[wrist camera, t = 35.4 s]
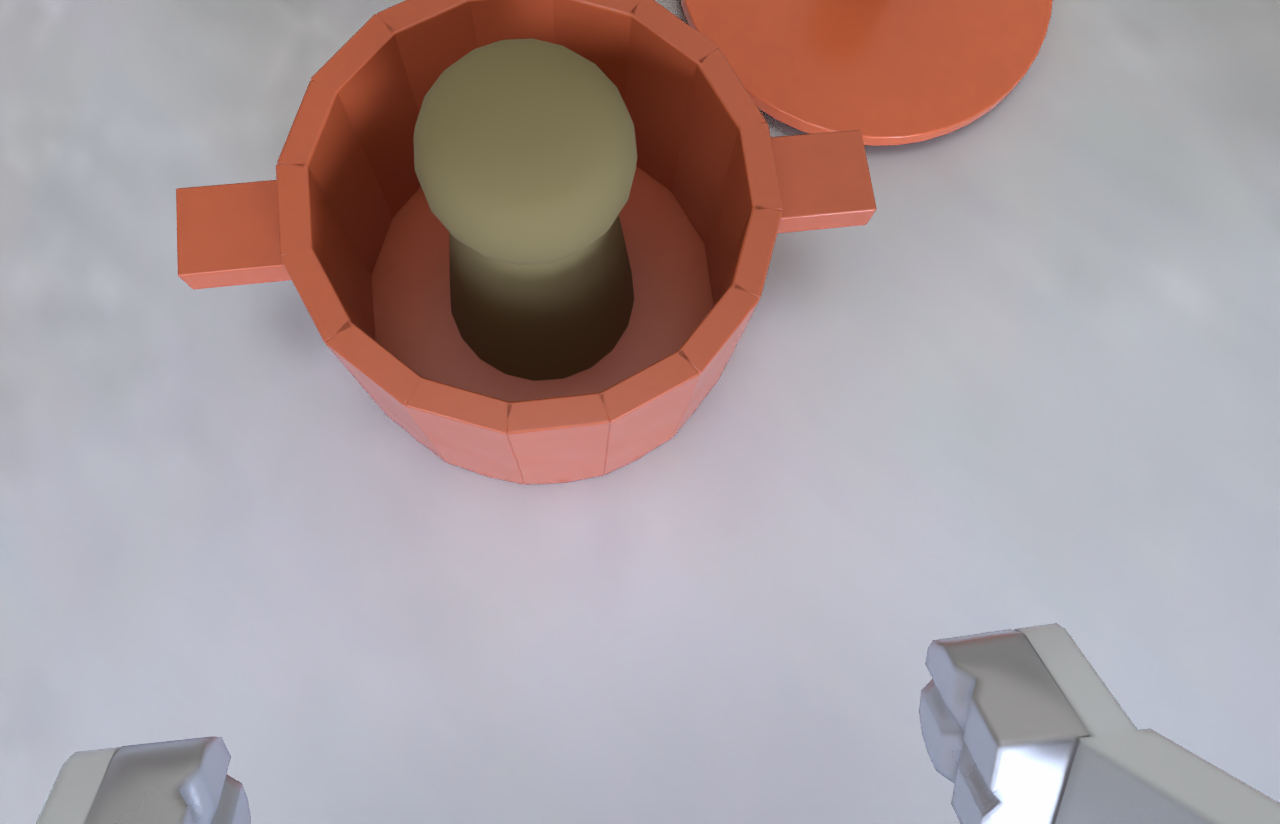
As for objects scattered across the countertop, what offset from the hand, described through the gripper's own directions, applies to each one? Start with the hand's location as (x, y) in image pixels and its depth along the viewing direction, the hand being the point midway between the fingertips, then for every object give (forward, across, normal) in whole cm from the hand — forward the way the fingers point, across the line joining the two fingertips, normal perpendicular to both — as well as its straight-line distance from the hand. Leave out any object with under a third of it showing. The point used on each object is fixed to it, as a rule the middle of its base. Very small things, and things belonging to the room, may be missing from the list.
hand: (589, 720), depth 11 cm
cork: (+22, 0, +4) cm, 22 cm away
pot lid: (+29, -13, -3) cm, 32 cm away
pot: (+22, 0, +5) cm, 22 cm away
